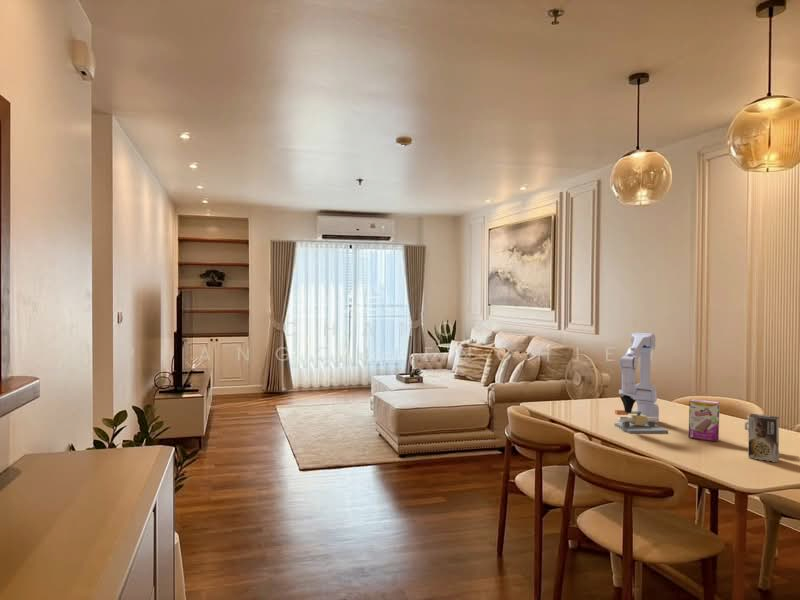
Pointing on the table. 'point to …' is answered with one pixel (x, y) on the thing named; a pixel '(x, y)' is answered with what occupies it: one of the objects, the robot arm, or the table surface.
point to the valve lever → (622, 412)
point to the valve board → (641, 428)
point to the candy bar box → (704, 420)
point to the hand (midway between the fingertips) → (628, 412)
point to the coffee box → (763, 437)
